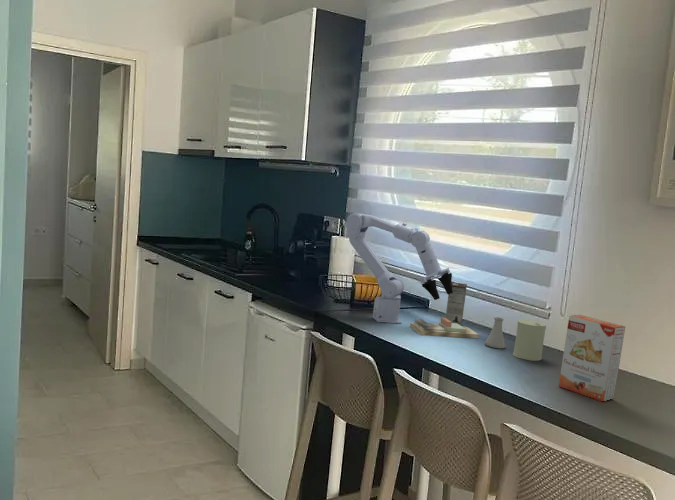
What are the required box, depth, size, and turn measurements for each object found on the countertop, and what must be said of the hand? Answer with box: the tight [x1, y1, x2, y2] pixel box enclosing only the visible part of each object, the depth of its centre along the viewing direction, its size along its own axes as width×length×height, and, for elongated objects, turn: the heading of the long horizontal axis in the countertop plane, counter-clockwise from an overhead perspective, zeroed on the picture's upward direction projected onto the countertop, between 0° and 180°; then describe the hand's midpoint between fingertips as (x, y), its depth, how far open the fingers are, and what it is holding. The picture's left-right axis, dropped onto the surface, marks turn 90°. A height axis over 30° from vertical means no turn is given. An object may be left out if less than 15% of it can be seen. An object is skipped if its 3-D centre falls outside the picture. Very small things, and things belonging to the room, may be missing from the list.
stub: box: [438, 317, 466, 332], centre depth 252 cm, size 7×9×3 cm
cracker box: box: [558, 314, 626, 402], centre depth 192 cm, size 14×6×21 cm, turn 40°
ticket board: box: [409, 318, 479, 339], centre depth 252 cm, size 22×12×3 cm, turn 101°
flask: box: [484, 316, 506, 350], centre depth 239 cm, size 7×7×10 cm
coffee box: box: [445, 281, 467, 326], centre depth 267 cm, size 9×6×16 cm
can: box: [512, 319, 547, 362], centre depth 228 cm, size 9×9×12 cm
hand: (443, 296), depth 253 cm, fingers open, 7 cm apart
